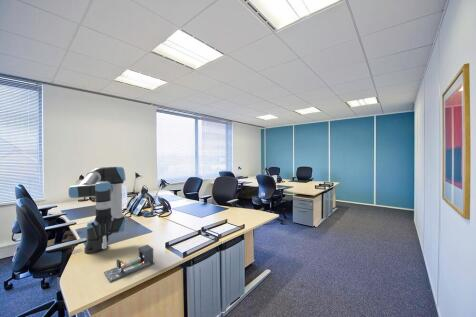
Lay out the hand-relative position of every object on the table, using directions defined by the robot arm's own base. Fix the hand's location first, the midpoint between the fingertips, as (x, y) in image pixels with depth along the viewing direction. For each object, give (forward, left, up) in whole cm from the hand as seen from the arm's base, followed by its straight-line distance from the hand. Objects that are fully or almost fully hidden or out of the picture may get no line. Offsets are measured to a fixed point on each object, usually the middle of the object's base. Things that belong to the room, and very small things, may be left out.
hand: (104, 247), depth 117 cm
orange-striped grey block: (0, +13, -17) cm, 22 cm away
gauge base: (0, +14, -18) cm, 23 cm away
